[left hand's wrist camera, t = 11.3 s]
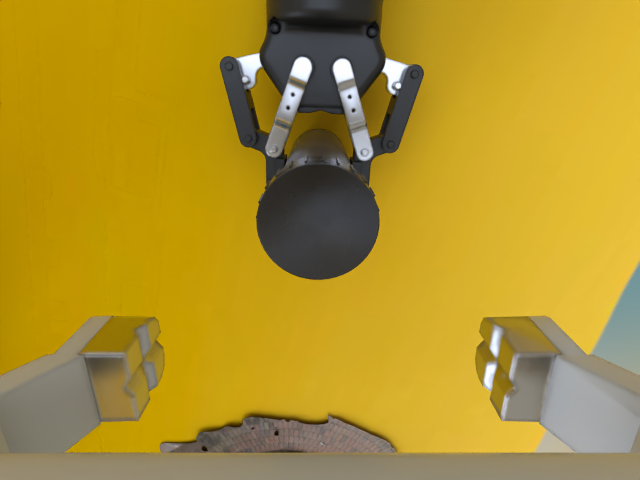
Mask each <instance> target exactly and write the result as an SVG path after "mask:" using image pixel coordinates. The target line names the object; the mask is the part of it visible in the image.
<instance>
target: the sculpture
mask: <svg viewBox="0 0 640 480" xmlns="http://www.w3.org/2000/svg"><path fill="white" fill-rule="evenodd" d="M328 418H329V421H328V423H326V424H321V425H310V424H304V423H299V422H298V421H293V420H290V422H287V421H285V419H282V420H277V419H268V418H264V419H263V418H261V417H258V418H257V417H248V418H245V419H243V425H242V426H241V427H229V426H226V427H224V428H222V429H220V430H215V431H211V432H200V433H199V434H198V435H197V437H196V439H197V442H194V443H185V444H177V443H162V444H161V445H160V449H161V452H162V453H396V451H395V449H394V448H393V447H392V446H391V445H390V443H389V442H387V441H386V440H384V439H381V438H379V437H377V436H374V435H373V436H372V435H370V434H369V433H367V432H365V431H363V430H360V429H358V428H357V427H354V426H352V425H349V424H347V423H346V424H345V423H344V422H342V421H341V420H338V419H336V418H334V419H333V418H332V417H331V416H329V415H328ZM253 427H254V428H255V429H254V430H252V429H251V428H253ZM275 431H278V432H279V435H278V436H276V435H274V433H275ZM203 445H204V446H205V447H206V448H207V449H208V451H203V450H202V446H203Z"/></svg>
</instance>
